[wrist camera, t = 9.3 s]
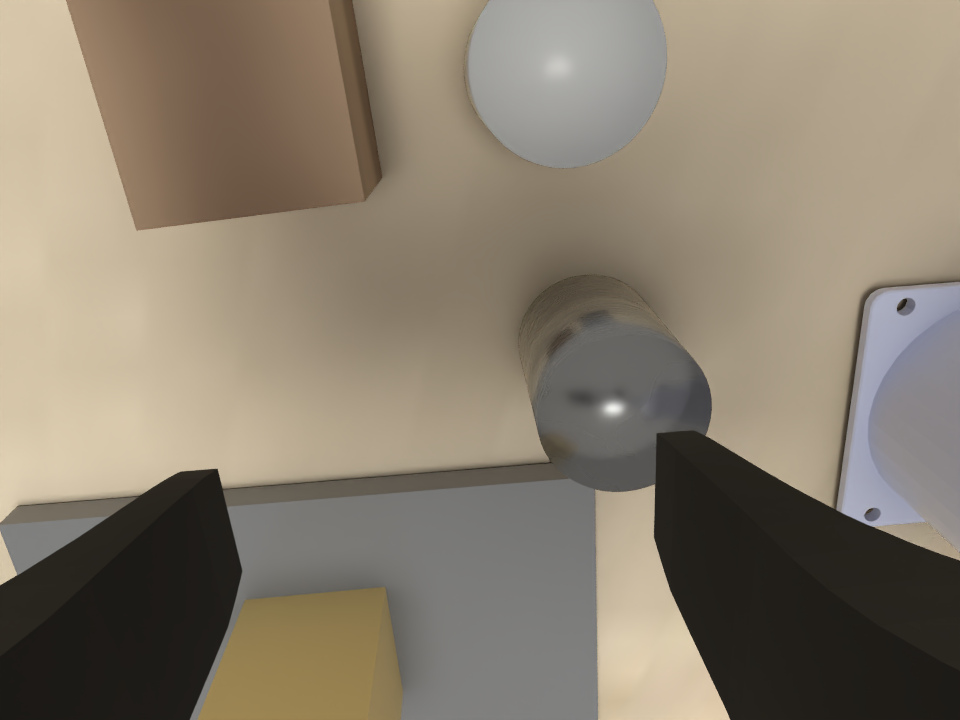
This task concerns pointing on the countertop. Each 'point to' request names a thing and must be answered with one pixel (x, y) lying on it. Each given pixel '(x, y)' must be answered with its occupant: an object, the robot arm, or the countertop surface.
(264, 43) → the walnut block
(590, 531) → the slate board
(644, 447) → the dark metal cylinder
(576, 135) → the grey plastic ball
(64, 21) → the countertop surface
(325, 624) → the ochre block
